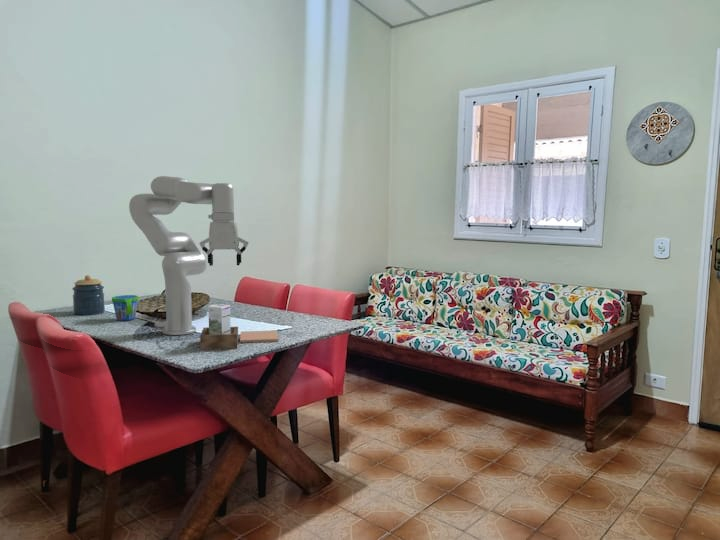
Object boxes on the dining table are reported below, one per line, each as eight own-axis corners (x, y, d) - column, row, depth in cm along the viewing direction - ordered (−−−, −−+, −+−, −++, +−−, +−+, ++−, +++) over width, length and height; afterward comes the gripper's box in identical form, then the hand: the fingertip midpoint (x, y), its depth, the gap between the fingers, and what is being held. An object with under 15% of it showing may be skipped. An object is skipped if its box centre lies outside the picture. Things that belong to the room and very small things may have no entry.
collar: (200, 349, 176) (200, 335, 175) (203, 340, 188) (203, 327, 187) (237, 348, 178) (237, 334, 178) (238, 339, 190) (238, 326, 190)
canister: (78, 310, 240) (76, 273, 238) (107, 309, 243) (106, 273, 241) (69, 316, 228) (67, 277, 226) (101, 315, 231) (99, 276, 229)
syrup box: (231, 343, 185) (231, 304, 183) (222, 347, 179) (221, 307, 178) (218, 341, 187) (217, 303, 185) (208, 345, 181) (207, 305, 180)
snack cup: (111, 317, 226) (110, 294, 225) (136, 315, 231) (135, 293, 230) (114, 324, 213) (113, 300, 211) (141, 321, 218) (140, 298, 217)
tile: (239, 342, 186) (239, 340, 185) (240, 333, 199) (240, 331, 199) (278, 341, 188) (278, 338, 188) (276, 332, 202) (276, 330, 202)
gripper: (196, 218, 178) (198, 266, 179) (246, 217, 180) (247, 265, 181) (201, 218, 185) (202, 264, 187) (248, 217, 187) (250, 264, 189)
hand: (224, 265), depth 184 cm, fingers open, 9 cm apart
